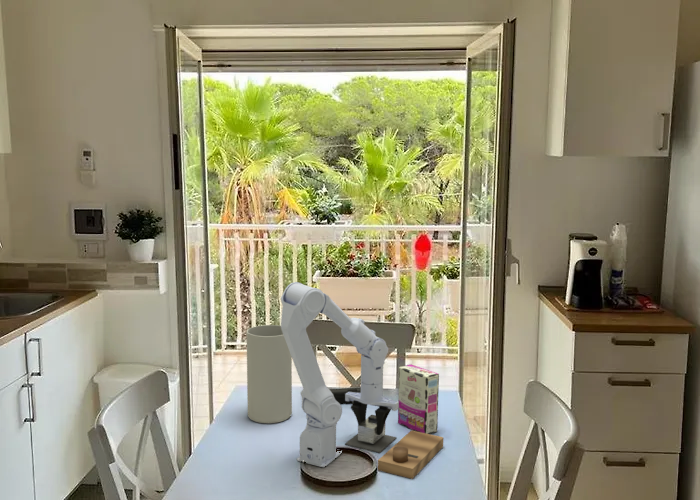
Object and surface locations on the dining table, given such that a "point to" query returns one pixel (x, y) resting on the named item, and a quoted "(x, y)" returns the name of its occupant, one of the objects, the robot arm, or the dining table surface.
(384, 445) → the mat
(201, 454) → the dining table surface
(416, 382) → the candy bar box
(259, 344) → the cylinder vase
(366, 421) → the off-white rectangular block
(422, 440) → the wooden board with knob
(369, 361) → the robot arm
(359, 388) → the black two-tone device
